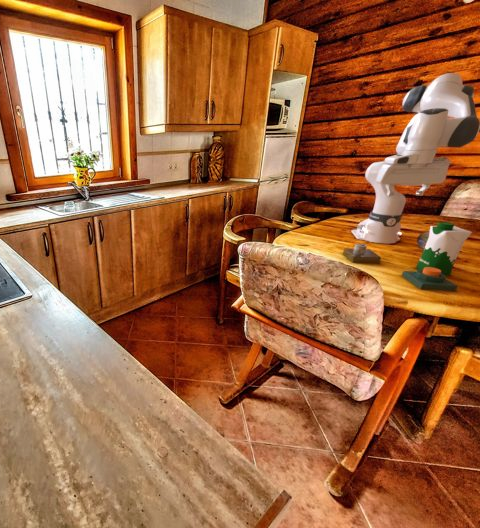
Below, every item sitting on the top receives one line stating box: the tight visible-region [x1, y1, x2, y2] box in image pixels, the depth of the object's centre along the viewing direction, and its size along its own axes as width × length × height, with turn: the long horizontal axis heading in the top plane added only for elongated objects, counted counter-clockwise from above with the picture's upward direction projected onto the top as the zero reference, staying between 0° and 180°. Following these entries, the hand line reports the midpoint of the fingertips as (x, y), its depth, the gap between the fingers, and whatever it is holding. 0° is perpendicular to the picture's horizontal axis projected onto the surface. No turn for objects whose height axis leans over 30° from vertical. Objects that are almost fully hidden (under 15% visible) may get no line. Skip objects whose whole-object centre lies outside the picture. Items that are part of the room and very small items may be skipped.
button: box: [422, 267, 441, 277], centre depth 101 cm, size 4×4×2 cm
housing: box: [401, 269, 458, 292], centre depth 102 cm, size 11×10×4 cm
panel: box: [342, 247, 382, 264], centre depth 125 cm, size 11×11×3 cm
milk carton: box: [415, 221, 473, 277], centre depth 106 cm, size 9×9×20 cm
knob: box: [353, 243, 368, 255], centre depth 122 cm, size 4×4×4 cm
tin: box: [416, 231, 430, 250], centre depth 127 cm, size 15×3×8 cm, turn 5°
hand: (404, 195), depth 109 cm, fingers open, 8 cm apart
